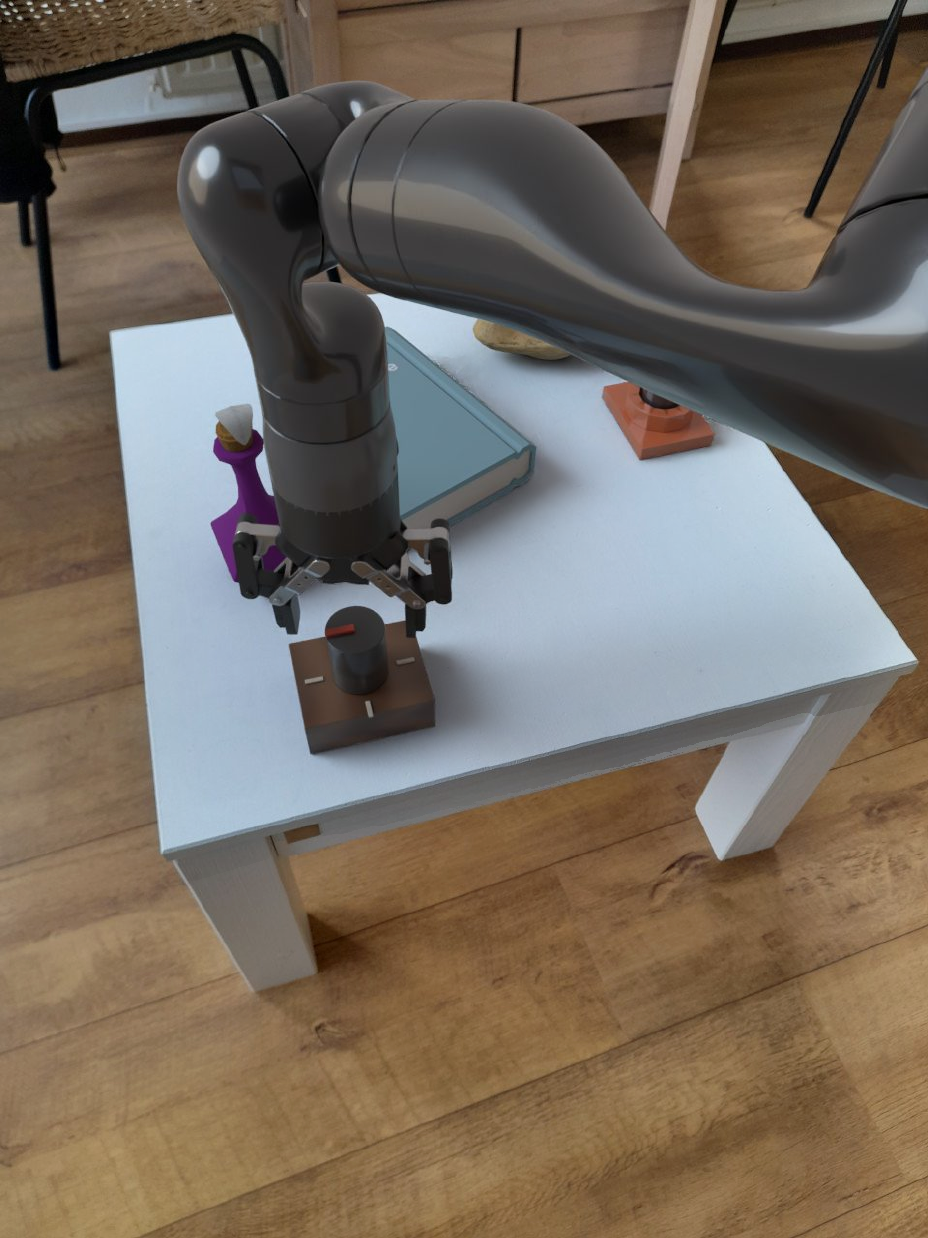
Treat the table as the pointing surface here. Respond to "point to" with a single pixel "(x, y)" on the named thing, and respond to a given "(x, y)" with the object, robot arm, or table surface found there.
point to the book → (448, 442)
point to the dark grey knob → (657, 400)
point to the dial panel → (362, 695)
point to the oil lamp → (514, 341)
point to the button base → (655, 423)
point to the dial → (357, 649)
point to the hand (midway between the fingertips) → (353, 626)
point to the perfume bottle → (243, 482)
